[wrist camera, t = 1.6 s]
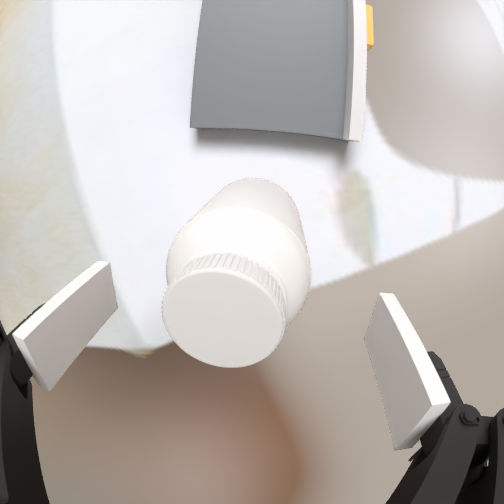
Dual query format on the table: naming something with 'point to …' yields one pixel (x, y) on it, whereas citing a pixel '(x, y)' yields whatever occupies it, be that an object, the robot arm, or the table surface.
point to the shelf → (283, 66)
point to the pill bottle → (237, 275)
